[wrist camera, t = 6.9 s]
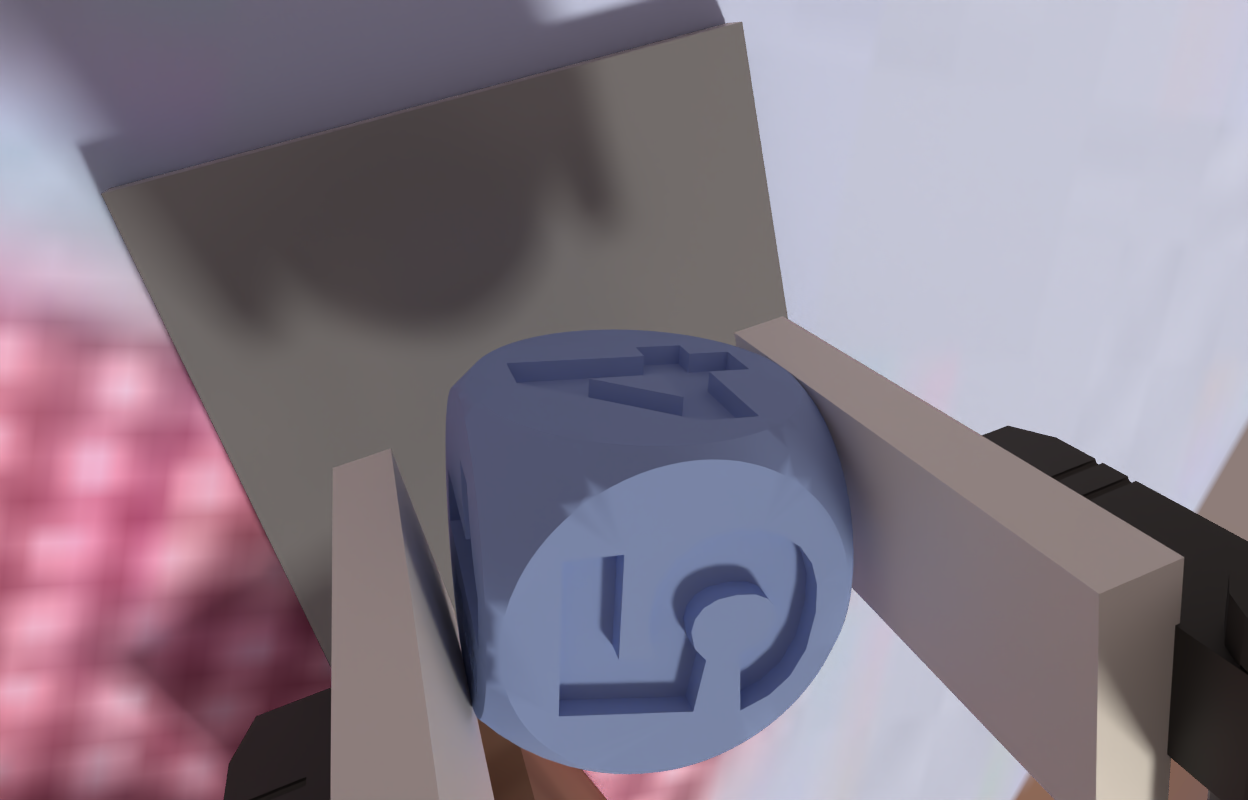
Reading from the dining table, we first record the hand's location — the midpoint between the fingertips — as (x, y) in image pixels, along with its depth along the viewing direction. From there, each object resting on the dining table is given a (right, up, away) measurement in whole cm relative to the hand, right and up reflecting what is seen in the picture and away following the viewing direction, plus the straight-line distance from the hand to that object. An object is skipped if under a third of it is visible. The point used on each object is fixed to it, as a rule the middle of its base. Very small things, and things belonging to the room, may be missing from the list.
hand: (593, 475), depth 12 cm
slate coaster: (-1, +1, +4) cm, 4 cm away
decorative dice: (0, 0, +1) cm, 1 cm away
